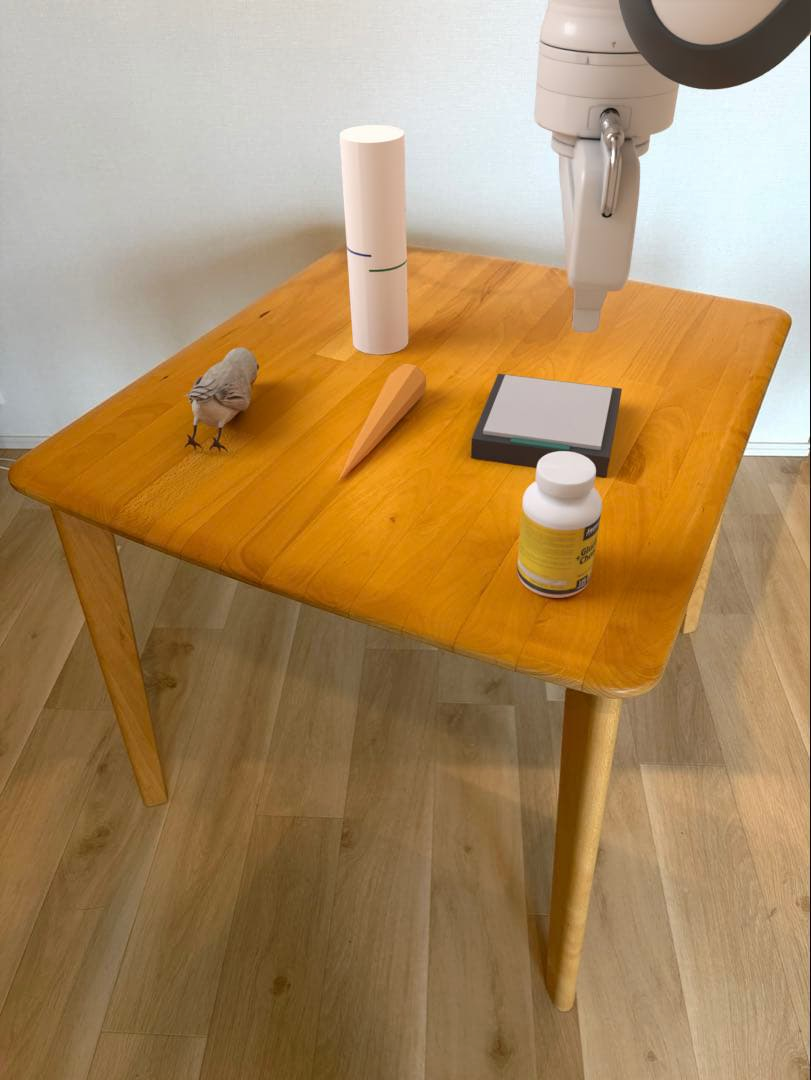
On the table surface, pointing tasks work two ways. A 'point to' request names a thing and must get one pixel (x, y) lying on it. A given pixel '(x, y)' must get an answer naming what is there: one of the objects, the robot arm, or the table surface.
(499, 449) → the scale
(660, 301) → the table surface
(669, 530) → the table surface
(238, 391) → the decorative bird
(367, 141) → the cylindrical container
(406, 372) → the carrot
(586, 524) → the pill bottle
